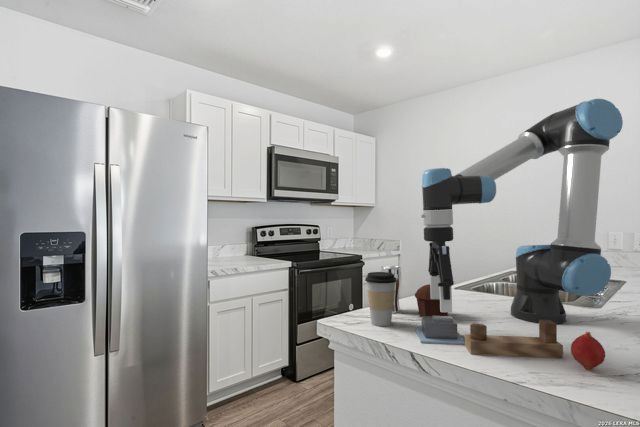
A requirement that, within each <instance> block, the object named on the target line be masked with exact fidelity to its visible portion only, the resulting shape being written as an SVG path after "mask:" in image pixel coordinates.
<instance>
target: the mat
mask: <svg viewBox="0 0 640 427" xmlns="http://www.w3.org/2000/svg"><path fill="white" fill-rule="evenodd" d="M414 330H415V332H416V334H417V337H418V339H419V342H420V344H434V345H435V344H436V345H458V346H460V345H461V346H462V345H463V346H465V339H463V337H462V336H461V335H460V333H459V332H458V331H457V340H455V339H432V338H425V336H424V334H423V332H422V327H414Z"/></svg>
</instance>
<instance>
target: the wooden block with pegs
mask: <svg viewBox="0 0 640 427" xmlns="http://www.w3.org/2000/svg"><path fill="white" fill-rule="evenodd" d="M557 324H558V323H554V322H552V321H551V320H539V323H538V330H539V331H538V332H539V333H538V334H539V335H538V336H518V335H517V336H516V335H490V334H488V327H487V325H486V324H483V323H478V322H477V323H476V322H475V323H470V326H469V328H470V329H469V330H470V332H469V333H470V334H469V333H468V334H467V333H465V334H464V341H465V345H464V348H466V350H467V351H468V352H469V354H470V355H481V356H482V355H484V356H503V357H523V358H526V357H527V358H543V359H544V358H547V359H548V358H549V359H564V345H563V344H562V343H561V342H559V341H558V338H557V335H558V334H557V330H558V328H557V326H558V325H557Z"/></svg>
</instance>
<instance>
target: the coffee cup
mask: <svg viewBox="0 0 640 427" xmlns="http://www.w3.org/2000/svg"><path fill="white" fill-rule="evenodd" d="M364 281H365V282H366V284H367V299H368V308H369V311H370V312H369V313H370V321H371V322H370V323H371V325H373V326H377V327H389V326H391V325H392V318H393V313H392V309H393V304H394V293H395V290H394V288H395V282H396V278H395V277H394V274H393V273H388V272H381V271H371V272H369V273H367V275H366V276H365V279H364Z"/></svg>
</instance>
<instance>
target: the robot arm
mask: <svg viewBox="0 0 640 427" xmlns="http://www.w3.org/2000/svg"><path fill="white" fill-rule="evenodd" d="M623 122H624V121H623V116H622V113H621V112H620V110H619V108H618V107H616V105H615V104H614V103H613V102H612V101H610V100H608V99H604V98H593V99H590V100H586V101H582V102H579V103H578V104H576V105H572V106H570V107H567V108H565V109H562V110H560V111H556V112H554V113H552V114H550V115H549V114H548V116H546V117H544V118H543V119H541V120H539V122H537V123H536V124H534V125H532V126H531V127H529V128H528V129H526V130H524V131H523V132H521V133H519V135H518V137H517V139H515V140H513V141H512V142H510V143H508V144H506V145H504V146H503V147H501V148H500V149H498V150H496V151H495V152H493V153H491V154H488V155H487V156H486V157H483V159H481V160H479V161H477V162H475V163H474V164H472V165H470V166H469V167H466V168H465V169H464V170H461V171H460V172H458V173H456V174H455V175H452V170H451V169H450V168H445V167H438V168H430V169H426V170H423V173H422V179H421V189H422V190H421V191H422V211H423V214H421V215H420V217H421V218H422V219H423V225H424V226H425V227H424V228H423V239H424V241H425V242H429V244H428V246H429V255H428V256H429V257H428V258H429V259H428V273H429V282H430V291H431V299H440V312H448V313H453V300H452V299H453V296H452V292H453V291H452V287H453V286H454V284H455V281H454V277H453V268H452V262H451V254H450V248H451V247H450V246H449V245H446V242H452V241H453V240H454V228H453V227H452V225H453V224H454V217H453V214H454V213H453V206H454V205H468V204H485V203H488V204H489V203H491V202H492V201H494V199H495V198H496V196H497V184H496V180H497V179H500V177H502V176H504V175H505V174H507V173H509V172H511V171H512V170H513V171H514V169H516V168H518V167H520V166H521V165H524V164H525V163H527V162H528V161H530V160H538V159H539V158H541V157H543V156H545V155H548V154H552V153H554V152H557V151H558V153H559V154H560V155H561V156H563V164H562V166H563V167H562V176H561V187H560V189H561V190H560V202H559V204H560V205H559V213H558V214H559V215H558V226H557V238H556V239H555V240H553V241H552V242H550V244H531V245H519V246H518V247H517V248H516V254H515V264H516V265H515V268H516V269H515V274H516V283H515V284H516V291H515V295H514V297H513V299H512V303H511V305H510V315H511V316H512V317H514V318H515V319H519V320H522V321H525V322H526V321H527V322H532V323H538V324H539V320H551V321H552V322H554V323H556V324H563V323H566V321H567V312H566V310H565V306H564V304H563V301H562V300H561V299H562V298H561V297H560V291H561V292H564V293H568V294H570V295H575V296H576V295H577V296H582V297H591V296H594V295H597V294H599V293H601V291H602V290H604V289H605V288H606V287H607V285H608V284H609V282H610V279H611V275H612V268H611V265H610V263H609V261H608V260H607V259H606V258H605V257H604V256H602V247H601V246H600V245H599V244H598V243H597V241H596V232H597V231H596V230H597V216H598V204H599V190H600V181H601V180H600V179H601V164H602V156H603V155H604V154H606V152H608V151H609V150H610V143H611V142H610V141H611V140H612V139H614V138H616V137H617V136H618V134H620V132H621V131H622V128H623Z"/></svg>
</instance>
